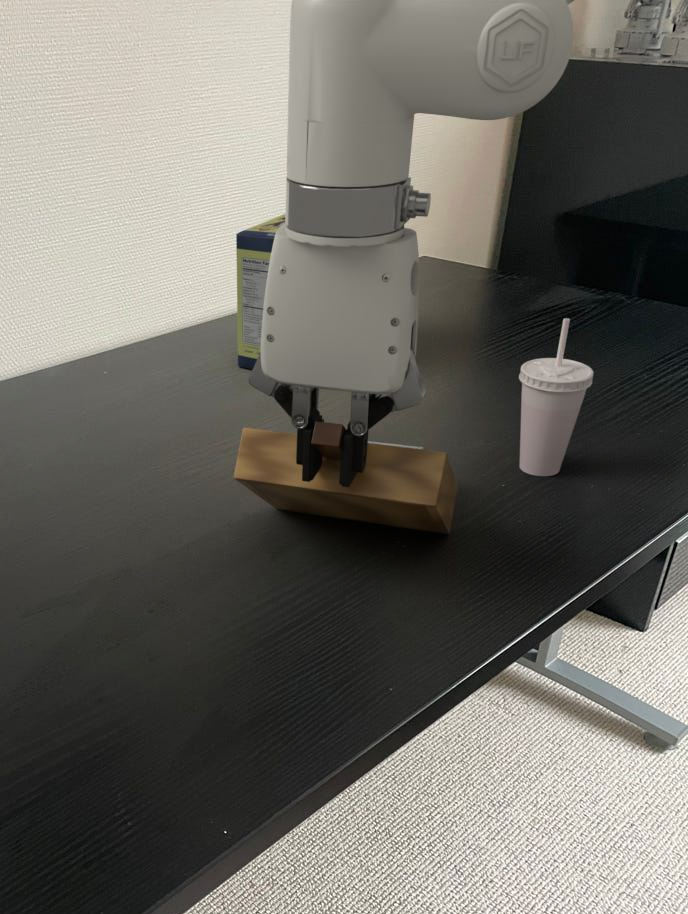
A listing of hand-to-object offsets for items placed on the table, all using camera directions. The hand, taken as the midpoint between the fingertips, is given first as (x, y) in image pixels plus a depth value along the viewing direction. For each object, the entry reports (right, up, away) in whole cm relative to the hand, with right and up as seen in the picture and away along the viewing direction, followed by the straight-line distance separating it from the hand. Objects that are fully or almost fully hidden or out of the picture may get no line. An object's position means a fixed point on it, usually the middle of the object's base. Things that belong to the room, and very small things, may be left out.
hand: (330, 474), depth 72 cm
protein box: (+3, +23, +50) cm, 55 cm away
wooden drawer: (+2, -1, +5) cm, 6 cm away
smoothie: (+23, +4, +22) cm, 32 cm away
